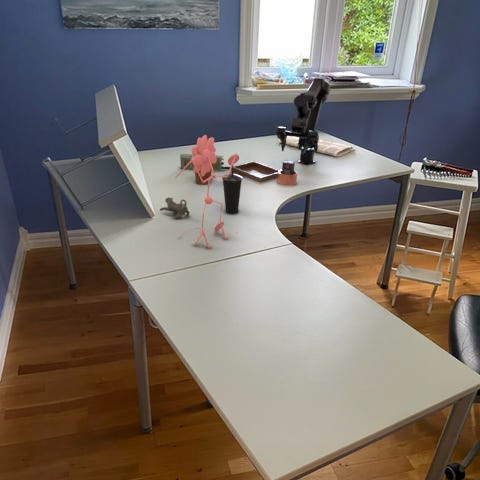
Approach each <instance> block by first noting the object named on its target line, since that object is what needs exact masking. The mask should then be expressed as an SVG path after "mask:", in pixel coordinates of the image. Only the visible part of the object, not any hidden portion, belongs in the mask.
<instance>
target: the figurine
mask: <svg viewBox="0 0 480 480" xmlns="http://www.w3.org/2000/svg"><path fill="white" fill-rule="evenodd" d="M196 140H197V141H196V146H192V147H191V154H192V155H193V158H192V159H191V161H190V162H189V163H188V164H187V165H186V166H185V167H184V168H183V169H181V170H180V172H179V173H178V174H176V176H175V177H174V178H175V179H177V178H178V177H179V176H180V175H181V174H182V173H183V171H185V170H186V169H185V168H186V167H187V166H188V165H189V164H190V163H191V162H192V164H193V165H194V168H193V169H192V171H193V173H194V174H195V173H196V172H197V173H198V175H199V177H200V179H201V181H202V183H205V182H206V181H208V184H207V191H206V196H205V198H204V199H203V201H204V206H203V209H202V219H201V220H202V221H201V231H200V234H199V236H198V237H197V239H196V241H195V242H194V245H196V244H197V243H198V241H199V240H200V239H201V237H202V236H203V238H204V240H205V241H204V242H205V243H206V246H207V248H208V249H210V244H209V242H208V239H207V237H206V233H205V231H206V229H204V217H205V210H206V205H211V204H212V203H213V202H214V203H217V204H220V215H219V221H218V223H217V224H216V225H215V227H214V228H213V230H214V232H215V233H217V232H219V231H220V230H221V232H222V235H223V237H224V240H227V236H226V232H225V230H224V224H225V222H224V221H223V220H222V213H223V203H222V202H219V201H217V200H214V199H213V197H212V196H210V195H209V192H210V184H211V180H213V179H215V178H222V177H224V178H228V177H227V176H228V175H229V174H231V168H232V166H233V167H234V165H235V164H237V163H238V161H239V160H240V156H239V154H238V153H235V154H232V155H230V156H229V158H227V164H228V165H229V167H230V169H229V170H228V171H227V173H226V175H227V176H224V175H219V174H216V173H215V171H213V168H212V165H211V163H212V164H214V163H216V162H217V158H216V156H217V155H216V151H217V149H216V147H215V145H214V144H215V138H214V137H209V138H208V136H207V134H204V135H203V136H202V137H198V138H197V139H196ZM210 169H211V177H209V178H207V179H206V180H204V181H203V179H202V177H203V176H204V175H205V174H206V172H210ZM200 170H201V172H200V173H199V171H200ZM200 174H201V175H200ZM201 176H202V177H201ZM197 229H199V227H196V228H195V230H197ZM190 231H194V228H193V229H189V230H185V231H183V233H182V234H180V237H179V238H181V237H182V236H183V235H184V234H186V233H188V232H190ZM235 233H236V234H238V232H237V231H235ZM177 240H178V241H177V242H178V243H179V241H180V239H177Z"/></svg>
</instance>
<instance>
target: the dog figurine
mask: <svg viewBox="0 0 480 480" xmlns="http://www.w3.org/2000/svg"><path fill="white" fill-rule="evenodd" d="M164 202H165V203H166V205H167V207H165V206H164V207H161V208H159V211H160V212H161V211H168V212H172V213H174V214H176V215H175V216H174V217H173V219H174V220H176V219H182V218H183V216H186V217H189V216H190V211H189V210H188V206H187V204H188V203H187V200H186V199H181V200H180V202H179V203H176V202H175V201H174V198H173V197H170V196H169V197H166V198H165V200H164ZM183 202H184V203H183ZM177 214H178V215H177Z"/></svg>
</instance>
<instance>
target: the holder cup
mask: <svg viewBox="0 0 480 480" xmlns="http://www.w3.org/2000/svg"><path fill="white" fill-rule="evenodd" d="M297 181H298V171H296V170H294V175H284V174H282V169H280V171H279V173H278V178H277V183H278V184H279V185H281V186H294V185H296V184H297Z"/></svg>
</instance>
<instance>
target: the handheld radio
mask: <svg viewBox="0 0 480 480" xmlns="http://www.w3.org/2000/svg"><path fill="white" fill-rule="evenodd" d="M179 158H180V169H181V170H183V168H184V167H185V166H186V165H187V164H188V163H189V162H190V161H191V159H192V153H180V154H179ZM216 158H217V162H216V163H214V164H212V168H213V171H214V172H223V171H224V170H226V171H227V170H228V171H229V169H230V166H223V165H225V162H224V155H216ZM193 168H194V165H193V164H192V162H191V163H190V164H189V165H188V166H187V167H186V168H185V169H184V170H193Z"/></svg>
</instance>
